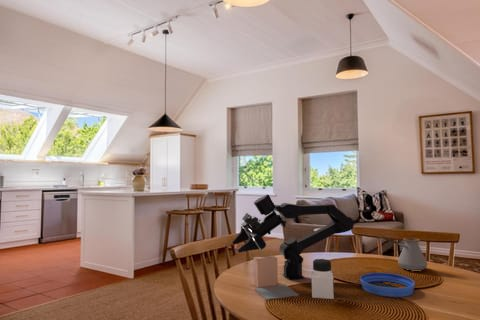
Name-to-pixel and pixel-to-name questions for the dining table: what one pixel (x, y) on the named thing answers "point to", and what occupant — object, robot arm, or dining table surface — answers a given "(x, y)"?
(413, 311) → the dining table surface
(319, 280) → the medicine bottle
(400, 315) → the dining table surface
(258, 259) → the terracotta block
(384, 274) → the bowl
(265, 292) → the mat
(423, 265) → the coffee pot
